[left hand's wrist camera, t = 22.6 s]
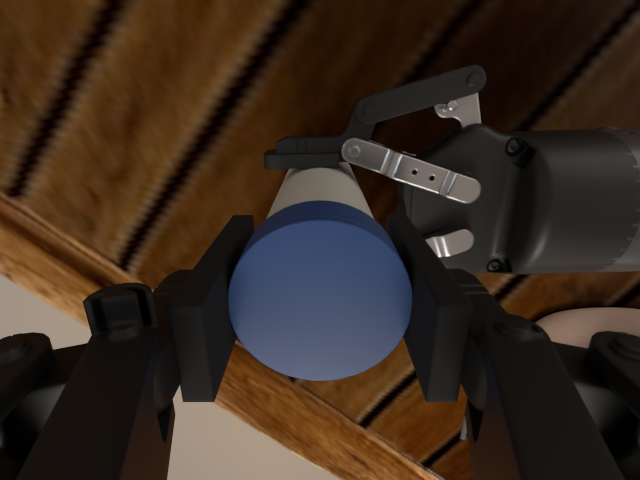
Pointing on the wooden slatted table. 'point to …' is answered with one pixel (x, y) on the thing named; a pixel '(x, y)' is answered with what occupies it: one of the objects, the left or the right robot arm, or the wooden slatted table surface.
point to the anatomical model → (589, 324)
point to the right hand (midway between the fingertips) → (271, 210)
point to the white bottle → (320, 188)
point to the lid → (320, 292)
